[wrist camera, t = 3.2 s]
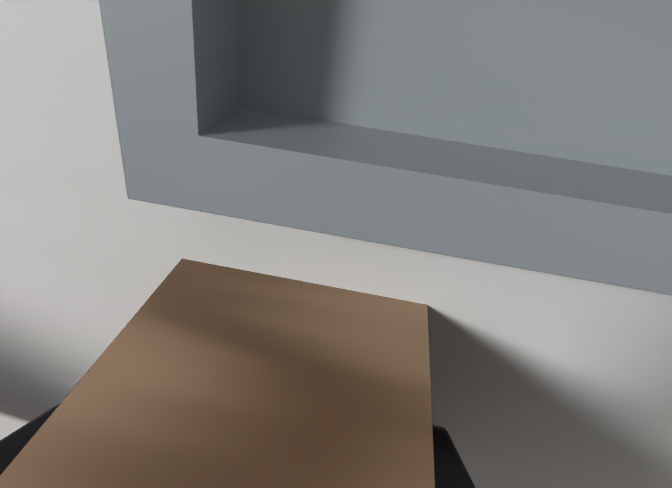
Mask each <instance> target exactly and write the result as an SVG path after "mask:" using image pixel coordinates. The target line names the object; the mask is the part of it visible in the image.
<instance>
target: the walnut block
mask: <svg viewBox="0 0 672 488" xmlns="http://www.w3.org/2000/svg"><path fill="white" fill-rule="evenodd" d="M0 488H435V476H434V452H433V429H432V405H431V382H430V358H429V335H428V311H427V305H424V304H419V303H414V302H408V301H403V300H398V299H393V298H387V297H382V296H377V295H371V294H366V293H361V292H355V291H350V290H345V289H340V288H334V287H329V286H324V285H318V284H313V283H308V282H303V281H297V280H292V279H287V278H281V277H276V276H271V275H265V274H260V273H255V272H250V271H244V270H239V269H234V268H228V267H223V266H218V265H212V264H207V263H202V262H197V261H191V260H186V259H181V261H180V262H179V263H178V264H177V265H176V267H175V268H174V269H173V270H172V271H171V273H170V274H169V275H168V276H167V277H166V279H165V280H164V281H163V282H162V283H161V284H160V286H159V287H158V288H157V289H156V290H155V292H154V293H153V294H152V295H151V296H150V298H149V299H148V300H147V301H146V302H145V304H144V305H143V306H142V307H141V308H140V310H139V311H138V312H137V313H136V314H135V315H134V317H133V318H132V319H131V320H130V321H129V323H128V324H127V325H126V326H125V327H124V329H123V330H122V331H121V332H120V333H119V335H118V336H117V337H116V338H115V339H114V341H113V342H112V343H111V344H110V345H109V346H108V348H107V349H106V350H105V351H104V352H103V354H102V355H101V356H100V357H99V358H98V360H97V361H96V362H95V363H94V364H93V366H92V367H91V368H90V369H89V370H88V372H87V373H86V374H85V375H84V376H83V377H82V379H81V380H80V381H79V382H78V383H77V385H76V386H75V387H74V388H73V389H72V391H71V392H70V393H69V394H68V395H67V397H66V398H65V399H64V400H63V401H62V403H61V404H60V405H59V406H58V407H57V408H56V410H55V411H54V412H53V413H52V414H51V416H50V417H49V418H48V419H47V420H46V422H45V423H44V424H43V425H42V426H41V428H40V429H39V430H38V431H37V432H36V434H35V435H34V436H33V437H32V438H31V439H30V441H29V442H28V443H27V444H26V445H25V447H24V448H23V449H22V450H21V451H20V453H19V454H18V455H17V456H16V457H15V459H14V460H13V461H12V462H11V463H10V465H9V466H8V467H7V468H6V469H5V470H4V472H3V473H2V474H1V475H0Z"/></svg>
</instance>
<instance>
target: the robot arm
mask: <svg viewBox="0 0 672 488" xmlns="http://www.w3.org/2000/svg"><path fill="white" fill-rule="evenodd" d="M61 403H62V402H61ZM61 403H59V404H58V405H56V406H54V407H53V408H51V409H50V410H48V411H46V412H45V413H43V414H42V415H40V416H39V417H37V418H35V419H34V420H32V421H31V422H29V423H27V424H26V425H24V426H23V427H21V428H20V429H18V430H16V431H15V432H13V433H12V434H10V435H9V436H7V437H5V438H4V439H2V440H0V475H1V474H2V473H3V472H4V470H5V469H6V468H7V467H8V466H9V465H10V463H11V462H12V461H13V460H14V459H15V457H16V456H17V455H18V454H19V453H20V451H21V450H22V449H23V448H24V447H25V445H26V444H27V443H28V442H29V441H30V439H31V438H32V437H33V436H34V435H35V434H36V432H37V431H38V430H39V429H40V428H41V426H42V425H43V424H44V423H45V422H46V420H47V419H48V418H49V417H50V416H51V414H52V413H53V412H54V411H55V410H56V408H57V407H58V406H59V405H60V404H61ZM432 429H433V452H434V476H435V488H475V486H474V484H473V482H472V480H471V478H470V476H469V474H468V472H467V470H466V468H465V466H464V464H463V462H462V460H461V458H460V456H459V454H458V452H457V450H456V448H455V446H454V444H453V442H452V440H451V438H450V436H449V434H448V432H447V430H446V429H445V428H443V427H441V426H436V425H432Z"/></svg>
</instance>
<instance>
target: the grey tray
mask: <svg viewBox="0 0 672 488" xmlns="http://www.w3.org/2000/svg"><path fill="white" fill-rule="evenodd" d="M99 4H100V11H101V17H102V24H103V31H104V38H105V45H106V52H107V59H108V66H109V72H110V79H111V86H112V93H113V100H114V107H115V114H116V120H117V127H118V134H119V141H120V148H121V155H122V162H123V169H124V175H125V182H126V189H127V196H128V199H133V200H139V201H144V202H150V203H156V204H161V205H167V206H173V207H178V208H184V209H189V210H195V211H201V212H206V213H212V214H217V215H223V216H229V217H234V218H240V219H246V220H251V221H257V222H262V223H268V224H274V225H279V226H285V227H290V228H296V229H302V230H307V231H313V232H319V233H324V234H330V235H335V236H341V237H347V238H352V239H358V240H363V241H369V242H375V243H380V244H386V245H392V246H397V247H403V248H408V249H414V250H420V251H425V252H431V253H436V254H442V255H448V256H453V257H459V258H465V259H470V260H476V261H481V262H487V263H493V264H498V265H504V266H509V267H515V268H521V269H526V270H532V271H538V272H543V273H549V274H554V275H560V276H566V277H571V278H577V279H583V280H588V281H594V282H599V283H605V284H611V285H616V286H622V287H627V288H633V289H639V290H644V291H650V292H656V293H661V294H667V295H672V0H99Z"/></svg>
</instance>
